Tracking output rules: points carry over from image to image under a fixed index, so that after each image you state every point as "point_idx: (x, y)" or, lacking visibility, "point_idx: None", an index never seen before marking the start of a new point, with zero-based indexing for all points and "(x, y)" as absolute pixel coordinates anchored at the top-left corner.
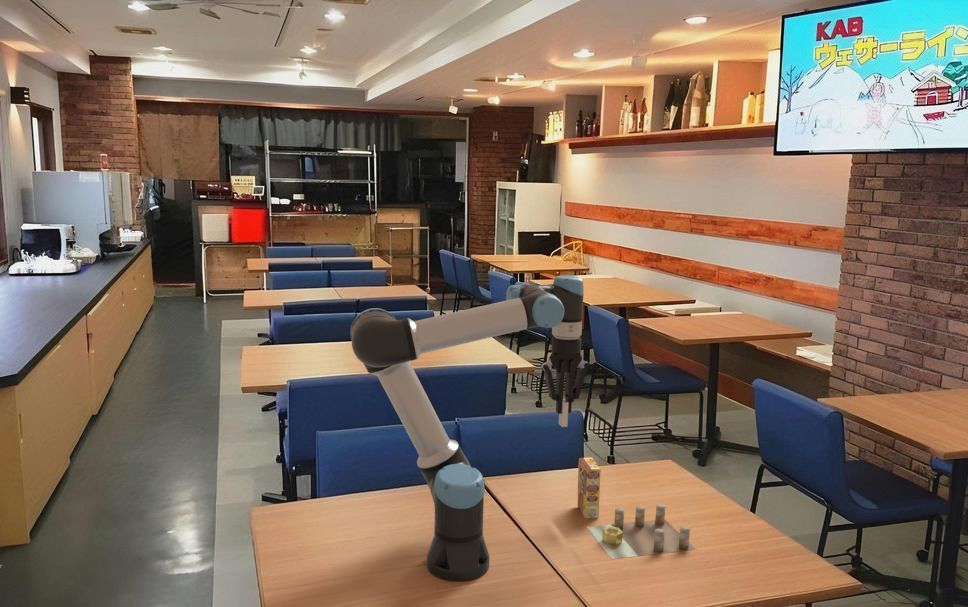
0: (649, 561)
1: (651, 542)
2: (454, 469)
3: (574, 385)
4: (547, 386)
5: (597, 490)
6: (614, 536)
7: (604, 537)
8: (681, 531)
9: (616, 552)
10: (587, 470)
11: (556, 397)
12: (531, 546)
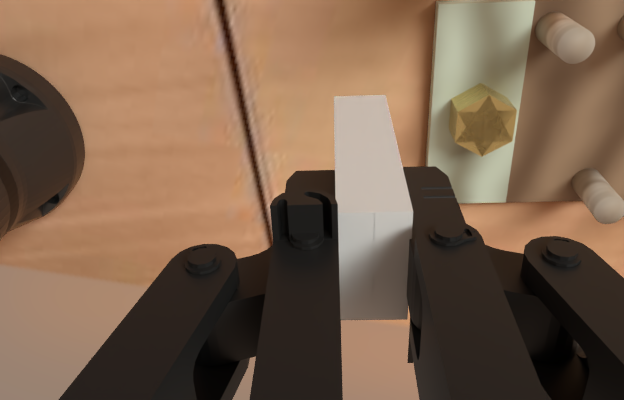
0: (530, 203)
1: (592, 142)
2: None
3: (614, 383)
4: (85, 380)
5: None
6: (475, 152)
7: (452, 121)
8: None
9: (455, 176)
10: None
11: (246, 367)
12: (222, 70)
